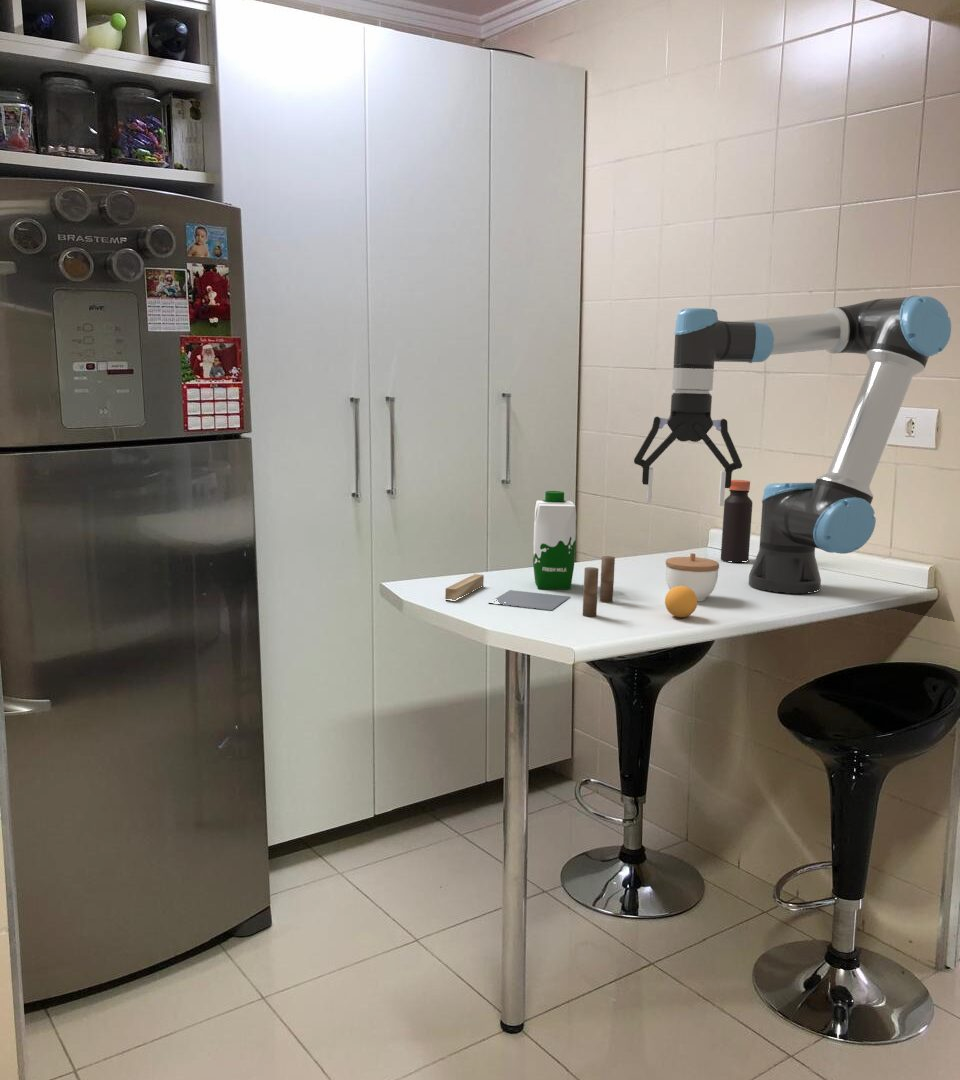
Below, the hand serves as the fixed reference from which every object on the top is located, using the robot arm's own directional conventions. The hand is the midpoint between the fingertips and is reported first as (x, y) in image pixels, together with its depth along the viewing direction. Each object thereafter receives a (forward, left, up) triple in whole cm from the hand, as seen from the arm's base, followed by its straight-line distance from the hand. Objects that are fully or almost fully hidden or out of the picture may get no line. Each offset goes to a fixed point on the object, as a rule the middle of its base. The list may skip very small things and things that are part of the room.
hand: (684, 503), depth 196 cm
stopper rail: (+43, +6, -21) cm, 48 cm away
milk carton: (+29, -9, -21) cm, 37 cm away
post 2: (+15, 0, -21) cm, 25 cm away
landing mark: (+29, +6, -21) cm, 36 cm away
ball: (-1, +6, -18) cm, 19 cm away
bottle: (-3, -59, -21) cm, 63 cm away
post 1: (+15, +13, -21) cm, 28 cm away
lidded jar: (0, -11, -21) cm, 24 cm away
